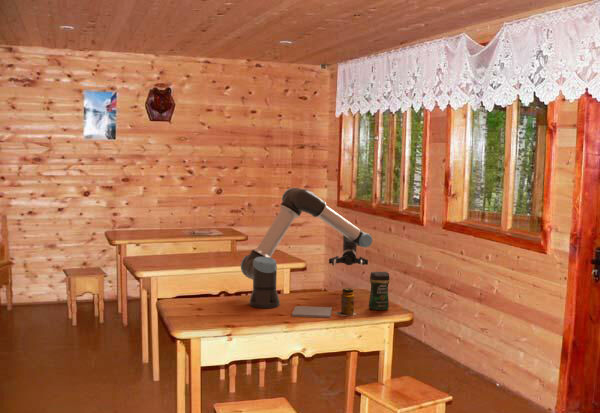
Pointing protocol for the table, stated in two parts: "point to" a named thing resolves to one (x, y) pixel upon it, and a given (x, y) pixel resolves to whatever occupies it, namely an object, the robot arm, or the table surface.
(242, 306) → the table surface
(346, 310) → the condiment
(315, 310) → the plain gray board
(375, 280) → the coffee jar
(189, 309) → the table surface
